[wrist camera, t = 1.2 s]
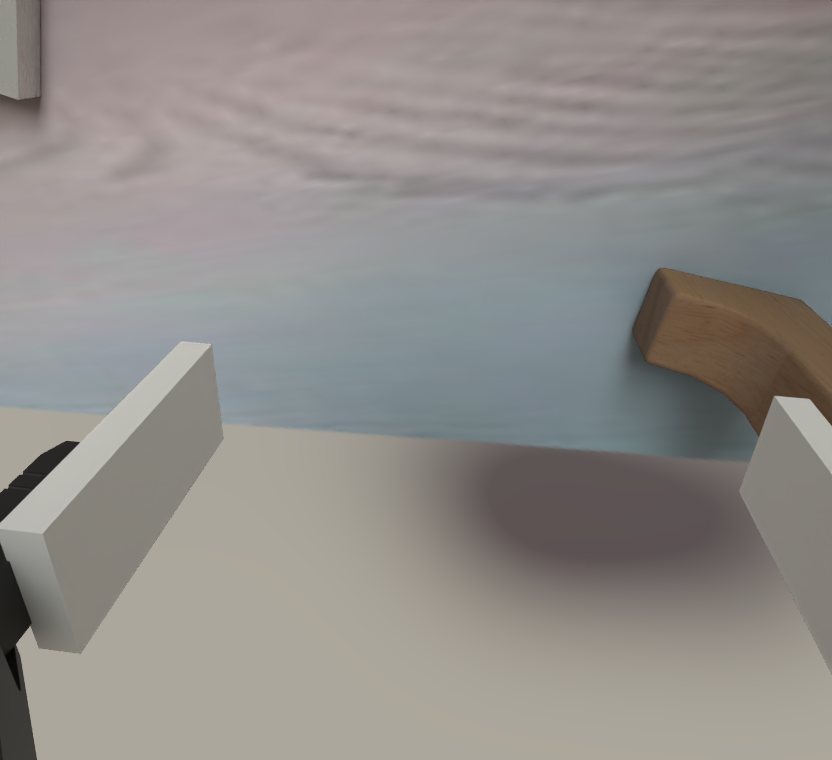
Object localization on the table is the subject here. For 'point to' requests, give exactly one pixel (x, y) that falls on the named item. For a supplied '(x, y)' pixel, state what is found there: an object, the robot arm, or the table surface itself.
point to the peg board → (20, 48)
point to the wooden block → (737, 341)
